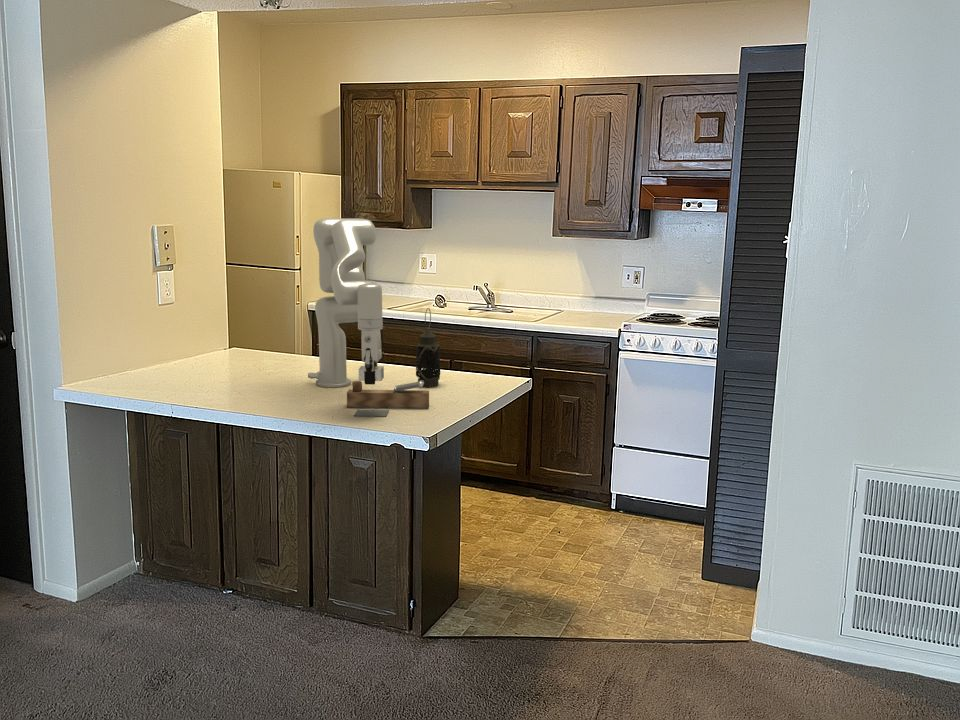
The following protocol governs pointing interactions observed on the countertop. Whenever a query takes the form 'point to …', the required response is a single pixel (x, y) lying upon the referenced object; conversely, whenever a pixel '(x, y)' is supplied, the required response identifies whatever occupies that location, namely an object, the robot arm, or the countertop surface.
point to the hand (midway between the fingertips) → (371, 381)
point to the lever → (409, 386)
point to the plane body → (386, 398)
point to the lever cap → (378, 373)
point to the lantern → (429, 371)
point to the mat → (371, 413)
